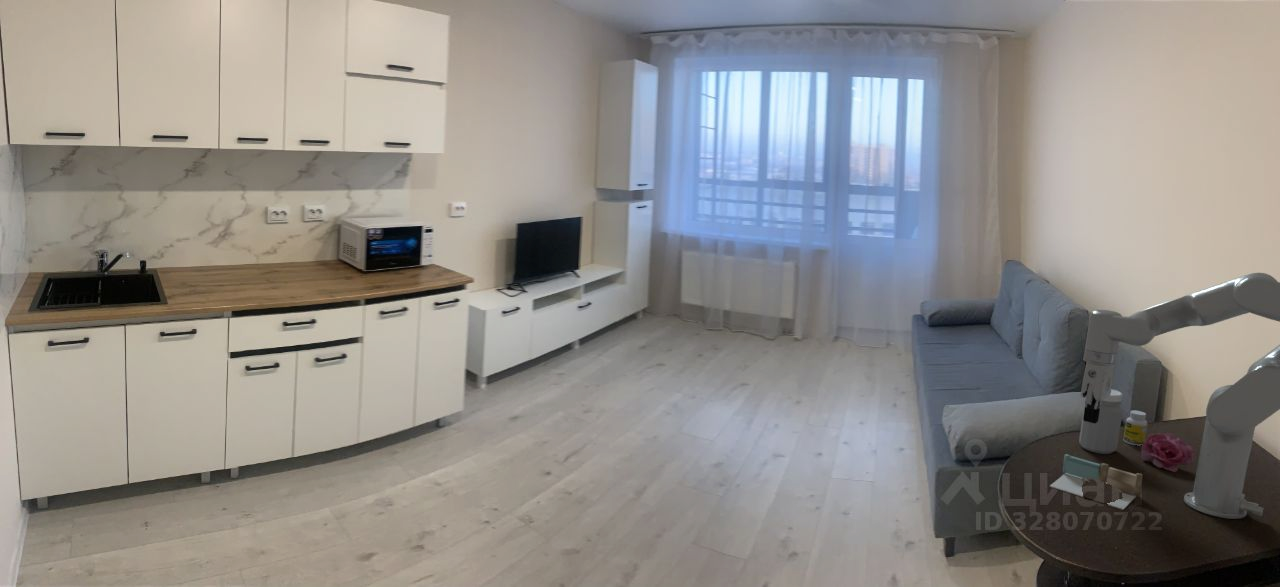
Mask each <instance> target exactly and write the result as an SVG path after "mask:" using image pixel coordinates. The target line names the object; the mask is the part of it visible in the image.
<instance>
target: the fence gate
mask: <svg viewBox="0 0 1280 587" xmlns="http://www.w3.org/2000/svg"><path fill="white" fill-rule="evenodd" d="M1101 464H1102V463H1097V462H1093V461H1090V460H1087V459H1083V458H1080V457H1076V456H1072V455H1071V454H1067V453H1066V454H1064V457H1063V465H1062V473H1064V474H1065V473H1068V474H1071V475H1075V476H1078V477H1081V478H1093V479H1099V476H1100V470H1101Z"/></svg>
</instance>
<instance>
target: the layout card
mask: <svg viewBox="0 0 1280 587" xmlns="http://www.w3.org/2000/svg"><path fill="white" fill-rule="evenodd" d="M1082 485H1083V481H1082V478H1081V477H1078V476H1075V475H1071V474H1068V473H1064V474H1063V475H1061V476H1060V477H1059V478H1058V479H1056V480H1055V481H1053V483H1051V484H1050V485H1049V488H1053V489H1056V490H1059V491H1062V492H1065V493H1069V494H1072V495H1074V496H1078V497H1081V498H1084V497H1083V492H1082ZM1122 497H1123V498H1122V499H1118V500H1116V501H1115V502H1110V503H1107V504H1108V505H1107V506H1110V507H1113V508H1116V509H1119V510H1121V511H1122V510H1123V511H1124V510H1125V509H1126V508H1127V507H1128V506H1129V504H1131V503H1132V501H1133V500H1135V498H1137V497H1136V496H1135V495H1133V494H1129V493H1126V492H1123V491H1122Z"/></svg>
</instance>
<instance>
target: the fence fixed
mask: <svg viewBox="0 0 1280 587" xmlns="http://www.w3.org/2000/svg"><path fill="white" fill-rule="evenodd" d="M1100 464H1101V466H1100V472H1099V480H1100V481H1101V482H1104V483H1106V484H1110V485H1112V486H1114V487H1116V488H1118V489H1120V490H1121V491H1123V492H1126V493H1129V494H1133V495H1135V496H1136V497H1135V498H1139V497H1140V493H1141V488H1142V482H1143V473H1141V472H1140V473H1138V472H1136V474H1135V473H1132V472H1130V471H1125V470H1122V469H1119V468H1118V469H1117V468H1114V467H1111V466H1109V464H1107V463H1104V462H1102V463H1100ZM1106 481H1107V482H1106Z"/></svg>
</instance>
